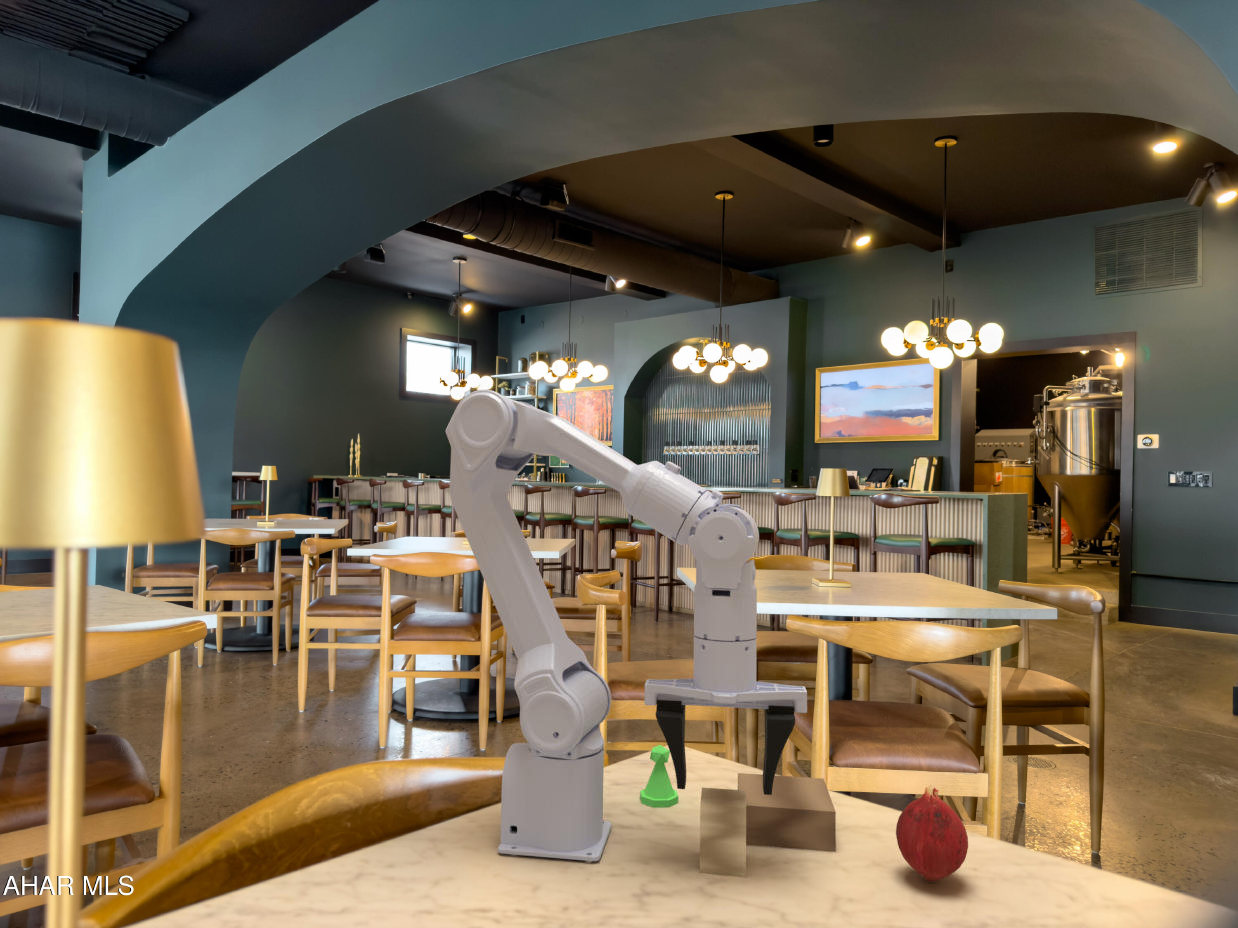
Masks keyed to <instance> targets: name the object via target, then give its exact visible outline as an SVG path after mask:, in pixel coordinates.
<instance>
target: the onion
mask: <svg viewBox="0 0 1238 928" xmlns="http://www.w3.org/2000/svg"><path fill="white" fill-rule="evenodd" d="M895 837H896V842H897V846H898V849H899V851H900V853H901V855H902V857H903V859H904V860H905V861H906V863H907V864H908V865H909V866H910V867H911V868H912V870H914V872H916V873H917V874H918V875H920V876H921V877H922V878H924V879H925V880H926V881H927V882H930V883H936V882H939V881H940V880H942V879H945V878H946V877H949V876H951V875H952V874H954V873H955V872H956V871H957V870H959V869H960V868H961V866H962V865H963V863H964V862H965V860H966V859H967V854H968V850H969V837H968V833H967V830H966V827H965V825H964V823H963V821H962V819H961V818H960V816H959V815H958V814H957V812H956V811H955V810H954V809H953V808H952V807H951V806H950V805H949V804H948V803H946V802H945V801H944V800H942V799H941V798H940V796H939V789H937V788H936V787H934V785H933V786H932V785H929V786H928V787H927V786H926V787H925V788H924V793H923V794H922V796H921V797H919V798H916V799H915V800H912V801H911V802H910V803H908V804H907V806H906V807H905V808H904V809H903V810H902V811H901V813H900V815H899V817H898V819H897V823H896V828H895Z"/></svg>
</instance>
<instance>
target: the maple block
mask: <svg viewBox="0 0 1238 928" xmlns="http://www.w3.org/2000/svg"><path fill="white" fill-rule="evenodd" d="M700 794H701V795H700V807H699V809H700V811H699V814H700V815H699V816H700V817H699V825H700V826H699V874H701V875H702V874H703V875H714V876H715V875H716V876H727V877H737V878H738V877H739V878H746V877H747V845H746V795H745V790H738V789H733V788H732V789H730V788H729V789H728V788H718V787H717V788H715V787H701V793H700Z"/></svg>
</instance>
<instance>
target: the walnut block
mask: <svg viewBox="0 0 1238 928" xmlns="http://www.w3.org/2000/svg"><path fill="white" fill-rule="evenodd" d="M737 790H745V795H746V846H753V847H755V846H756V847H767V848H779V849H781V848H782V849H794V850H806V851H818V852H819V851H821V852H829V853H831V852H832V853H836V851H837V850H836V849H837V848H836V847H837V846H836V845H837V844H836V841H837V839H836V835H837V833H836V831H837V830H836V821H837V818H836V815H837V814H836V813H837V811H836V810H835V807H834V803H833V801H832V798H831V795H830V793H829V790H828V787H827V785H826V781H825V778H821V777H820V778H819V777H808V776H807V777H804V776H790V775H789V776H788V775H777V774H775V776H774V781H773V787H772V795H764V791H763V774H758V773H744V772H743V773H741V772H738V773H737Z"/></svg>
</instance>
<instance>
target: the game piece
mask: <svg viewBox="0 0 1238 928" xmlns="http://www.w3.org/2000/svg"><path fill="white" fill-rule="evenodd" d="M670 755H671V753H670V750H669V748H666V747H664V746H663V745H662V744H659V745H656V746H653V747H652V749H651V751H650V756H649V759H650V761H653V762H654V763H655V764H654V767H653V769H652V771H651V773H650V775H649V778H648V780H647V783H646V786H645V788H644V789H641V790H639V791H640V793H639V794H640V795H639V796H640V797H639V799H640V801H641V804H642V805H645V806H647V807H650V808H654V809H656V808H657V809H658V808H661V809H662V808H663V809H664V808H665V809H666V808H672V807H673V806H675V805H677V804H679V795H678V792H677V790H676V789H674V788H673V786H672V782H671V779H670V777H669V774H668V771H667V767H666V763H668V762H669V758H670Z"/></svg>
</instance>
